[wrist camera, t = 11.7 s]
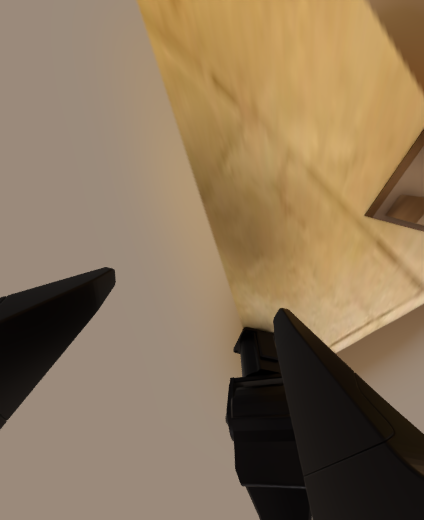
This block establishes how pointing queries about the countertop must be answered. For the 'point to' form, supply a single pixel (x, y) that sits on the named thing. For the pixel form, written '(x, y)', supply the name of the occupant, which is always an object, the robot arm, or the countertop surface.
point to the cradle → (404, 192)
